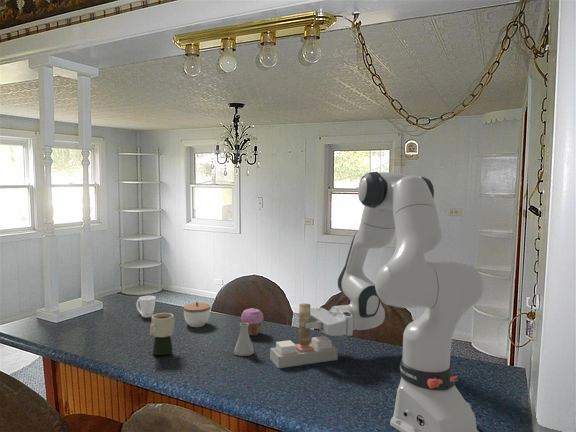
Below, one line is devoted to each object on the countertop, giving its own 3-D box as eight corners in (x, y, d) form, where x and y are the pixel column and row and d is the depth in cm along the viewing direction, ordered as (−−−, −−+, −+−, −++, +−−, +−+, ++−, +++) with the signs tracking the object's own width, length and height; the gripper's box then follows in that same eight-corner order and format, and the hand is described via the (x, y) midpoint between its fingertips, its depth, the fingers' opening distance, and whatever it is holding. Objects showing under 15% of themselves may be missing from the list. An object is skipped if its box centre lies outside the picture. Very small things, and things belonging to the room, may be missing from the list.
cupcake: (262, 338, 162) (262, 312, 161) (239, 337, 162) (239, 311, 161) (264, 330, 171) (264, 305, 170) (242, 330, 171) (242, 305, 170)
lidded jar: (177, 325, 175) (177, 302, 174) (197, 319, 184) (197, 297, 183) (196, 330, 169) (196, 307, 168) (215, 324, 178) (215, 301, 177)
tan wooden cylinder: (311, 344, 141) (312, 305, 140) (301, 346, 140) (302, 306, 139) (307, 341, 144) (307, 303, 143) (297, 342, 143) (297, 303, 142)
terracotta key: (313, 356, 141) (314, 347, 141) (299, 358, 139) (299, 349, 139) (307, 350, 146) (307, 342, 146) (293, 352, 144) (294, 344, 144)
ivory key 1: (295, 354, 139) (296, 345, 138) (281, 355, 137) (281, 347, 137) (290, 348, 143) (290, 340, 143) (275, 350, 141) (276, 342, 141)
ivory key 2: (331, 349, 143) (331, 340, 143) (317, 351, 141) (318, 342, 141) (324, 344, 148) (325, 335, 148) (311, 345, 146) (311, 337, 146)
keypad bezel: (337, 359, 143) (337, 349, 142) (278, 368, 135) (278, 357, 135) (326, 351, 150) (326, 340, 150) (269, 358, 142) (270, 348, 142)
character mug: (166, 346, 152) (166, 310, 151) (182, 350, 148) (182, 313, 148) (142, 357, 142) (142, 318, 141) (158, 361, 139) (158, 321, 138)
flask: (251, 357, 143) (251, 328, 143) (230, 355, 145) (230, 326, 144) (257, 349, 150) (257, 321, 150) (237, 348, 152) (237, 320, 151)
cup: (146, 319, 182) (146, 300, 182) (130, 315, 187) (130, 297, 187) (159, 315, 188) (159, 297, 188) (143, 311, 193) (143, 293, 193)
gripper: (326, 302, 156) (290, 305, 151) (354, 317, 137) (315, 322, 132) (325, 319, 156) (290, 323, 151) (354, 337, 137) (315, 342, 132)
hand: (302, 323), depth 141 cm, fingers closed on tan wooden cylinder, 4 cm apart
